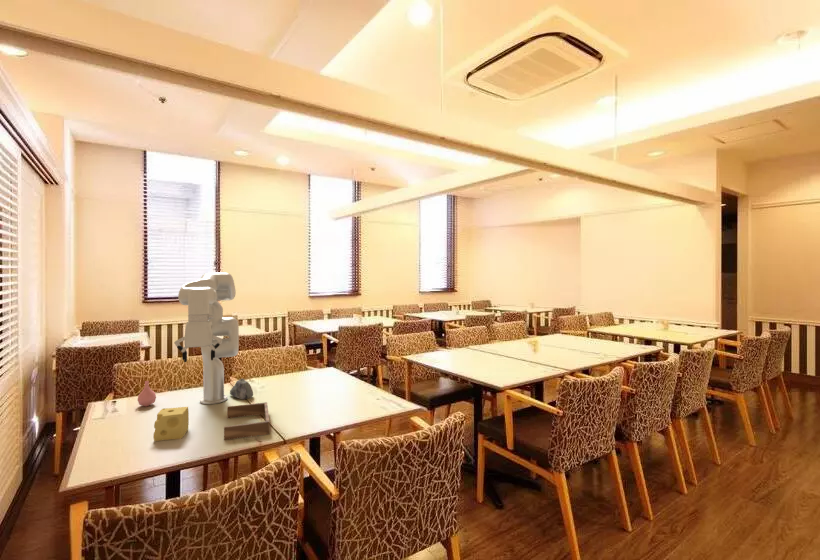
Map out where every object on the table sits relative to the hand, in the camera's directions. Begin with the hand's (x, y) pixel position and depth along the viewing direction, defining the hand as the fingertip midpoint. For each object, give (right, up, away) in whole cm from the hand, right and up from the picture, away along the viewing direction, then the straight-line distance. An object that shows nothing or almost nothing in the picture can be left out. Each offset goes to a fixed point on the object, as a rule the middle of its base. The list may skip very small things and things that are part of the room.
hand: (199, 360), depth 164 cm
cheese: (-11, -30, 0) cm, 32 cm away
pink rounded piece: (-44, -29, +35) cm, 63 cm away
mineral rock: (-3, -29, +50) cm, 58 cm away
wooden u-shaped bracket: (+15, -30, +10) cm, 35 cm away
